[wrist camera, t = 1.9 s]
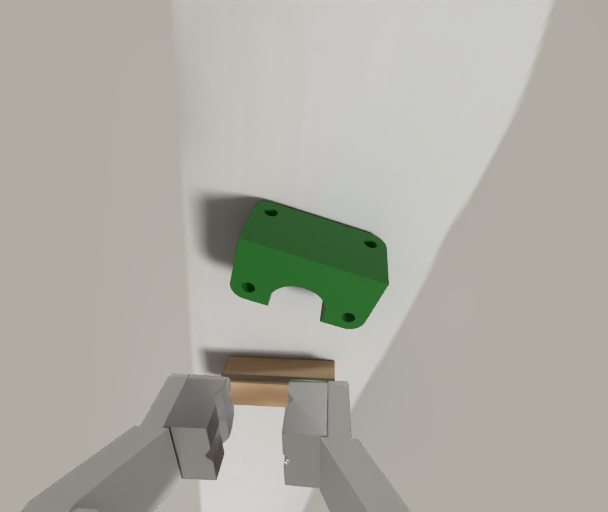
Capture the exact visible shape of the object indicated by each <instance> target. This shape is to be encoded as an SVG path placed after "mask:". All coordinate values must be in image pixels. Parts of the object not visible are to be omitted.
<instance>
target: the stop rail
mask: <svg viewBox="0 0 608 512" xmlns="http://www.w3.org/2000/svg"><path fill="white" fill-rule="evenodd" d="M221 376H222V377H228V378H230V383H231V390H230V393H229V396H230V397H231V398H232V399H233V404H235V405H254V406H273V407H287V406H288V388H289V382H290V380H319V381H335V378H334V361H327V360H303V359H280V358H256V357H233V356H229V359H228V362H227V364H226V367H225V369H224V372H223V374H222V375H221Z"/></svg>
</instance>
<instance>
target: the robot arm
mask: <svg viewBox="0 0 608 512" xmlns="http://www.w3.org/2000/svg"><path fill="white" fill-rule="evenodd" d="M230 390H231V383H230V378H228V377H222V376H208V375H195V374H191V375H189V374H176V373H173V374H172V375H170V376H169V377H168V378H167V380H166V382H165V384H164V385H163V387H162V389H161V391H160V392H159V394H158V396H157V398H156V399H155V401H154V403H153V405H152V406H151V408H150V410H149V412H148V413H147V415H146V417H145V419H144V420H143V422H142V424H141V426H134V427H132V428H131V429H129V430H128V431H127V432H125V433H124V434H122V435H121V436H120V437H118V438H117V439H115V440H114V441H113V442H111V443H110V444H108V445H107V446H106V447H104V448H103V449H101V450H100V451H99V452H97V453H96V454H95V455H93V456H92V457H90V458H89V459H88V460H87V461H85V462H84V463H82V464H81V465H79V466H78V467H76V468H75V469H74V470H72V471H71V472H70V473H68V474H67V475H65V476H64V477H62V478H61V479H60V480H58V481H57V482H56V483H54V484H53V485H51V486H50V487H49V488H47V489H46V490H44V491H43V492H42V493H40V494H39V495H37V496H36V497H35V498H33V499H32V500H30V501H29V502H28V503H27V505H26V506H25V507H24V509H23V510H22V511H21V512H154V511H155V510H156V509H157V508H158V507H159V506H160V505H161V504H162V503H163V502H164V501H165V499H166V498H167V497H168V496H169V495H170V494H171V493H172V492H173V491H174V490H175V488H176V487H177V486H178V485H179V484H180V483H181V482H182V479H203V480H217V476H218V473H219V470H220V467H221V463H222V460H223V457H224V449H223V443H224V442H225V441H226V440H227V439H228V438H229V436H230V433H231V429H232V424H233V417H234V404H233V399H232V398H231V397H230V396H229V393H230ZM351 437H352V435H351V419H350V400H349V384H348V382H345V381H319V380H290V382H289V388H288V406H287V407H286V408H285V415H284V423H283V430H282V443H283V454H284V455H285V461H284V477H285V485H293V486H303V487H313V488H320V492H321V494H322V496H323V497H324V500H325V502H326V504H327V506H328V508H329V510H330V512H411V511H410V509H409V508H408V506H407V505H406V504H405V503H404V501H403V500H402V498H401V497H400V496H399V494H398V493H397V492H396V490H395V489H394V487H393V486H392V485H391V483H390V482H389V481H388V479H387V478H386V477H385V475H384V474H383V472H382V471H381V470H380V468H379V467H378V466H377V464H376V463H375V462H374V460H373V459H372V457H371V456H370V455H369V453H368V452H367V451H366V449H365V448H364V447H363V445H362V444H361V442H360V441H359V440H358V439H353V438H351Z"/></svg>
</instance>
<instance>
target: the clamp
mask: <svg viewBox="0 0 608 512" xmlns="http://www.w3.org/2000/svg"><path fill="white" fill-rule="evenodd" d="M388 285H389V280H388V263H387V248H386V245H385V243H384V242H383V241H382V240H381V239H380V238H379V237H377V236H375V235H373V234H370V233H367V232H364V231H361V230H358V229H355V228H352V227H348V226H345V225H342V224H339V223H336V222H333V221H330V220H326V219H323V218H320V217H317V216H314V215H311V214H308V213H304V212H301V211H298V210H295V209H292V208H289V207H285V206H282V205H279V204H276V203H273V202H260V203H257V204H256V205H255V206H254V208H253V210H252V212H251V214H250V216H249V218H248V220H247V222H246V224H245V226H244V228H243V230H242V233H241V235H240V237H239V240H238V245H237V250H236V255H235V260H234V266H233V271H232V276H231V281H230V286H231V289H232V291H233V292H234V293H235V294H236V295H238V296H239V297H241V298H244V299H247V300H251V301H254V302H257V303H261V304H264V305H267V306H268V303H269V300H270V297H271V293H272V292H273V291H275V290H276V289H279V288H281V287H286V286H298V287H303V288H306V289H309V290H311V291H313V292H314V293H316V294H317V295H318V296H319V297H320V298H321V299H322V300H323V303H322V310H321V317H320V321H321V322H324V323H328V324H331V325H334V326H338V327H341V328H345V329H354V328H358V327H360V326H362V325H363V324H364V323H365V321H366V320H367V318H368V316H369V315H370V313H371V312H372V310H373V308H374V307H375V305H376V304H377V302H378V301H379V299H380V297H381V296H382V294H383V293H384V291H385V290H386V288H387V286H388Z"/></svg>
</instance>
